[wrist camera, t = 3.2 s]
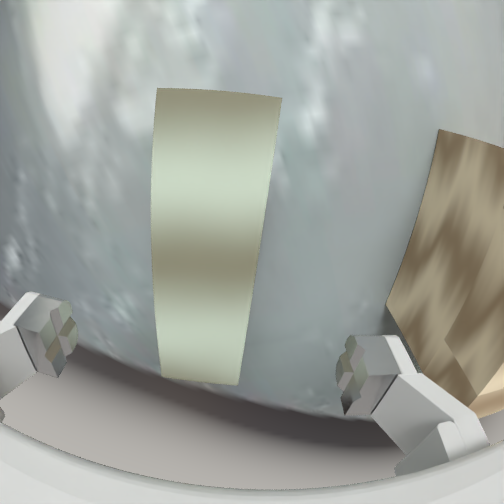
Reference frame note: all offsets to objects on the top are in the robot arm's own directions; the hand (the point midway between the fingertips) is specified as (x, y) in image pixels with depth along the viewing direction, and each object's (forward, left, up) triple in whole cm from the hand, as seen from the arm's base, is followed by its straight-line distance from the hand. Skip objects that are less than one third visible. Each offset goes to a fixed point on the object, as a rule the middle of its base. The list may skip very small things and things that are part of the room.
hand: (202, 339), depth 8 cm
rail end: (0, 0, -12) cm, 12 cm away
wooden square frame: (+18, 0, -12) cm, 21 cm away
